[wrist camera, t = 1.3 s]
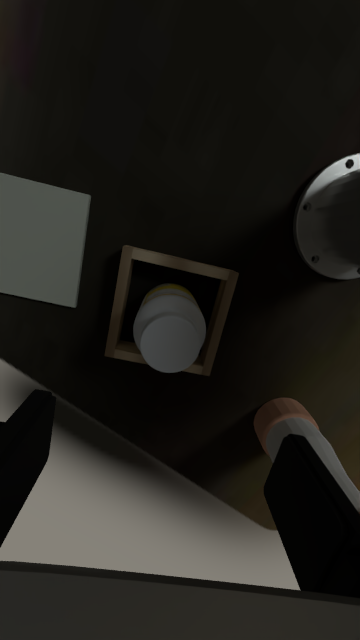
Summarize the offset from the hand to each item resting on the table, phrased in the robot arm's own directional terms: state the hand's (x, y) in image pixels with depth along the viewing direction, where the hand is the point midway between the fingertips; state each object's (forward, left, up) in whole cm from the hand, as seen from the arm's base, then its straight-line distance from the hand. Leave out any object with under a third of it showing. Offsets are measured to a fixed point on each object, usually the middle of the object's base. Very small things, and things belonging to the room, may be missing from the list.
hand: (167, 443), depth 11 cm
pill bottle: (0, 0, -22) cm, 22 cm away
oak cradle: (0, 0, -22) cm, 22 cm away
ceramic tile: (+16, -4, -22) cm, 27 cm away
